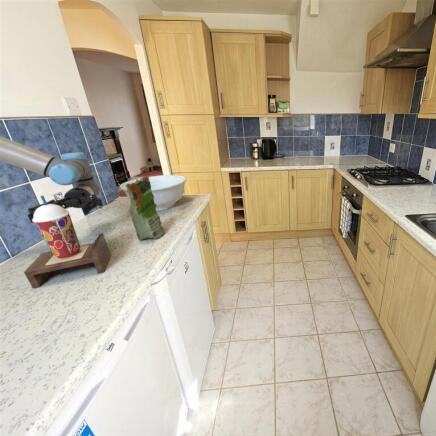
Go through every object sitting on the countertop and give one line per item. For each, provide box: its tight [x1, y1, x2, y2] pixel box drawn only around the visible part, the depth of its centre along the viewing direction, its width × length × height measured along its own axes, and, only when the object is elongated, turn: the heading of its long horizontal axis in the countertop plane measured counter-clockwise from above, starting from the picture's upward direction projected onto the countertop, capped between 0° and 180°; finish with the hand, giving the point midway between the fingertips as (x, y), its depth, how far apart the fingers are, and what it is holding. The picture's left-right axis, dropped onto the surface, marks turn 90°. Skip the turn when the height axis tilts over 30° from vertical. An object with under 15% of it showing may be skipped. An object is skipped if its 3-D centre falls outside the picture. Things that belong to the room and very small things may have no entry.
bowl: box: [119, 174, 187, 212], centre depth 135 cm, size 32×32×15 cm
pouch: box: [126, 176, 165, 241], centre depth 98 cm, size 11×12×25 cm
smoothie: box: [32, 195, 81, 259], centre depth 75 cm, size 8×8×20 cm
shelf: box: [23, 233, 112, 289], centre depth 80 cm, size 18×12×9 cm, turn 115°
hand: (58, 214), depth 78 cm, fingers open, 13 cm apart
